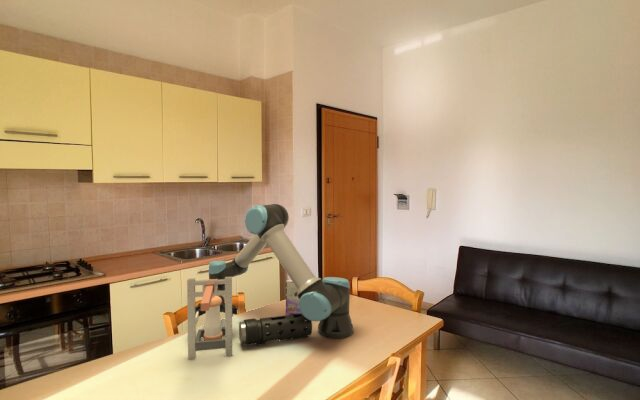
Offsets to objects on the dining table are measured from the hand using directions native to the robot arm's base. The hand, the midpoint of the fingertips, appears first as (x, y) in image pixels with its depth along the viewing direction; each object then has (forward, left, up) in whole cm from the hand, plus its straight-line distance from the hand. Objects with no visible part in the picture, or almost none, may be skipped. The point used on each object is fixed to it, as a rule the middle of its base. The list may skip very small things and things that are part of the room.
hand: (212, 319), depth 141 cm
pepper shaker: (+3, -2, -11) cm, 11 cm away
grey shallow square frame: (+3, -2, -11) cm, 11 cm away
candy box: (+4, -48, -11) cm, 49 cm away
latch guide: (-7, +4, -11) cm, 13 cm away
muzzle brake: (-13, -21, -11) cm, 27 cm away
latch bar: (-15, +8, +12) cm, 21 cm away
